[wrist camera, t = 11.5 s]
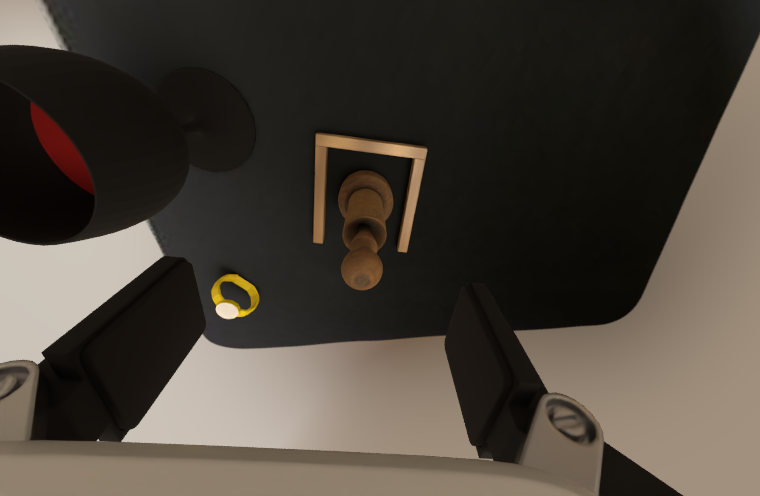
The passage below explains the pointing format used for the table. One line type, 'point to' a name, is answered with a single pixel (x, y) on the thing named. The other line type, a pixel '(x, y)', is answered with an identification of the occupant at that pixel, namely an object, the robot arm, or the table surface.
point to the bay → (373, 147)
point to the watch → (230, 307)
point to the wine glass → (105, 142)
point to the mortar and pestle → (364, 226)
